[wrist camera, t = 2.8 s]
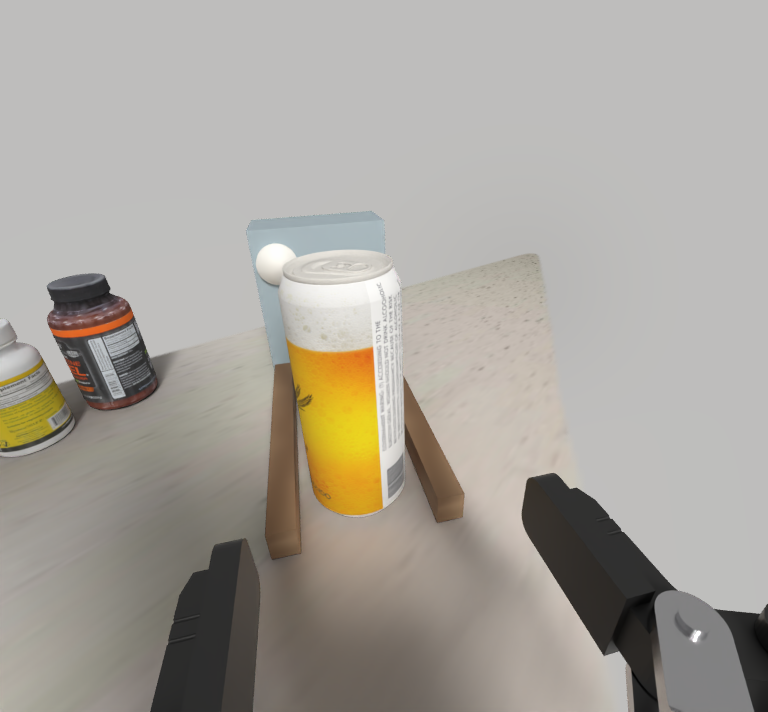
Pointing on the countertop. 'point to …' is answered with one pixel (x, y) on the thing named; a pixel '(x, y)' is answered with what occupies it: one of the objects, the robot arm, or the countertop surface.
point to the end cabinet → (298, 238)
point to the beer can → (348, 375)
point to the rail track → (284, 467)
